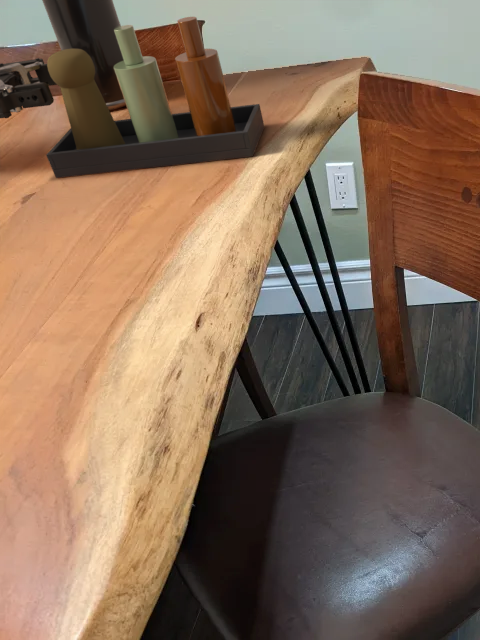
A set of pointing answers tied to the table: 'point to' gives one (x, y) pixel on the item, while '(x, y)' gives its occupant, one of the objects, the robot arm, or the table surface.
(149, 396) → the table surface
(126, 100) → the sage bottle
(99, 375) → the table surface
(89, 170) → the tray
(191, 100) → the amber bottle
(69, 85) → the olive peg figure
